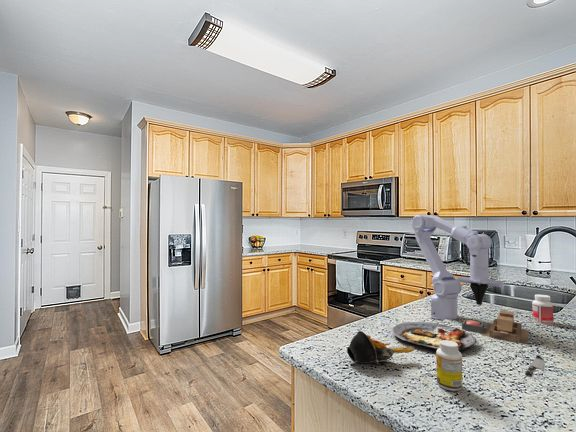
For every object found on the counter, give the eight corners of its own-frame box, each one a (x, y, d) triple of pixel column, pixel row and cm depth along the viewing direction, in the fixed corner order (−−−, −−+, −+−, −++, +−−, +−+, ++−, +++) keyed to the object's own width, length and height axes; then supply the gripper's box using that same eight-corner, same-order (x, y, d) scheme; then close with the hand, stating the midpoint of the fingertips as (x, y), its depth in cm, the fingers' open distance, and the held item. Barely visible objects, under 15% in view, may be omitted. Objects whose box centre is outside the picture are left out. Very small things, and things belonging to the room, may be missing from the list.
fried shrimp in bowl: (337, 339, 92) (387, 314, 97) (355, 378, 89) (405, 349, 94) (348, 339, 83) (401, 311, 89) (368, 381, 80) (422, 350, 86)
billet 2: (497, 336, 104) (497, 318, 104) (498, 333, 107) (498, 315, 107) (511, 339, 101) (511, 320, 101) (512, 335, 104) (512, 317, 104)
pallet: (482, 338, 105) (482, 328, 105) (488, 325, 117) (488, 317, 117) (527, 347, 97) (527, 337, 97) (528, 332, 110) (528, 323, 110)
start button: (465, 331, 111) (464, 322, 111) (467, 327, 114) (467, 319, 114) (479, 333, 108) (479, 325, 108) (481, 330, 112) (481, 321, 112)
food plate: (483, 338, 104) (483, 328, 104) (465, 363, 87) (464, 350, 87) (409, 323, 121) (408, 314, 121) (381, 341, 104) (381, 331, 104)
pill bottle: (556, 325, 117) (555, 296, 117) (550, 328, 114) (549, 298, 114) (536, 321, 123) (535, 293, 123) (529, 324, 119) (529, 295, 119)
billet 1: (499, 329, 110) (499, 312, 110) (500, 326, 113) (500, 310, 113) (513, 332, 108) (513, 314, 108) (514, 329, 111) (514, 312, 111)
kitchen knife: (551, 358, 91) (538, 354, 93) (551, 354, 91) (538, 351, 93) (539, 381, 78) (524, 376, 80) (539, 376, 78) (524, 372, 80)
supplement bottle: (440, 377, 79) (439, 337, 79) (464, 385, 75) (464, 342, 75) (433, 386, 75) (433, 343, 75) (459, 395, 71) (459, 349, 71)
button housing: (462, 331, 111) (461, 323, 111) (465, 327, 116) (465, 319, 116) (481, 335, 107) (481, 327, 107) (484, 330, 112) (484, 322, 112)
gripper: (454, 266, 116) (454, 303, 116) (501, 270, 106) (502, 310, 106) (458, 264, 121) (459, 299, 121) (504, 268, 112) (504, 306, 112)
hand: (479, 304), depth 114 cm, fingers closed
